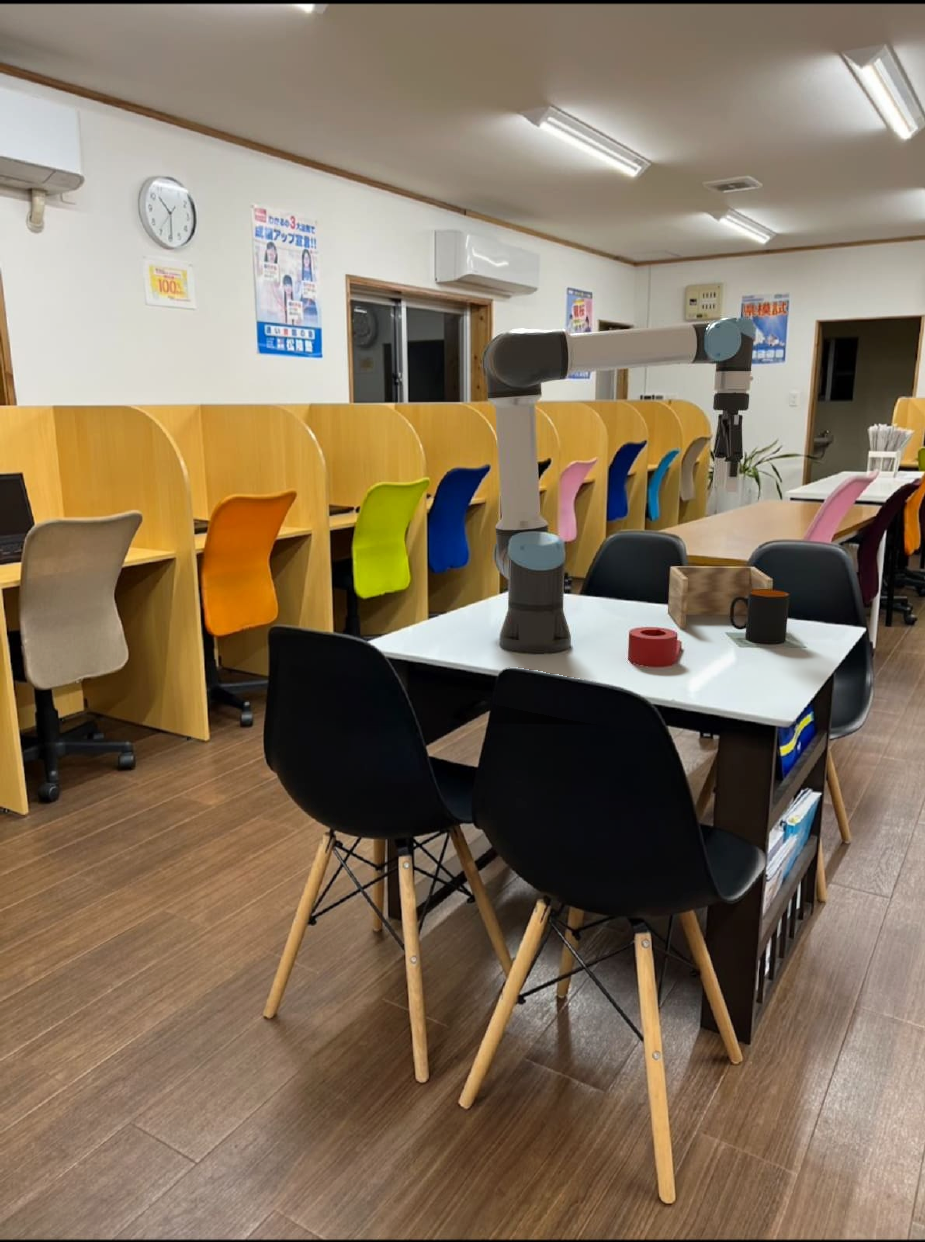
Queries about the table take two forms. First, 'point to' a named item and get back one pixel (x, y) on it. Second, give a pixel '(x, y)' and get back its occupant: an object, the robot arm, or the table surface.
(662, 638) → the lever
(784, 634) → the mug
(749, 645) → the mat
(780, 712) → the table surface
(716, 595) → the cubby
